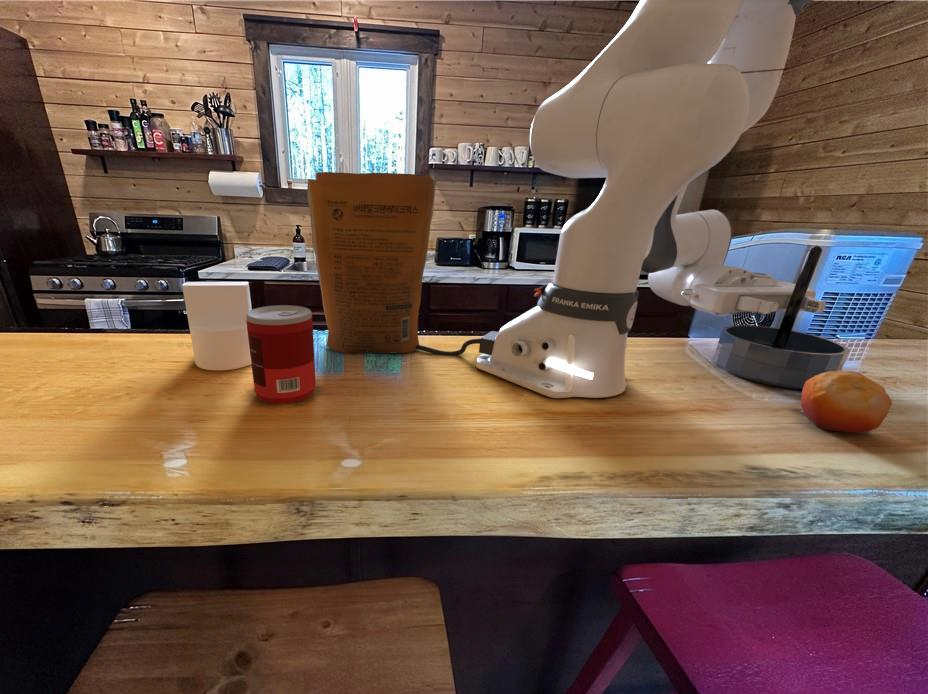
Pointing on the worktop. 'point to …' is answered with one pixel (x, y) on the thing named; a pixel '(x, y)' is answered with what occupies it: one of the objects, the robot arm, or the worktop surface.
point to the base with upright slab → (218, 323)
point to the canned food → (282, 353)
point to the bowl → (777, 355)
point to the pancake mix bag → (371, 256)
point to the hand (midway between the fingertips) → (798, 308)
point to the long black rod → (797, 296)
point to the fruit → (844, 402)
